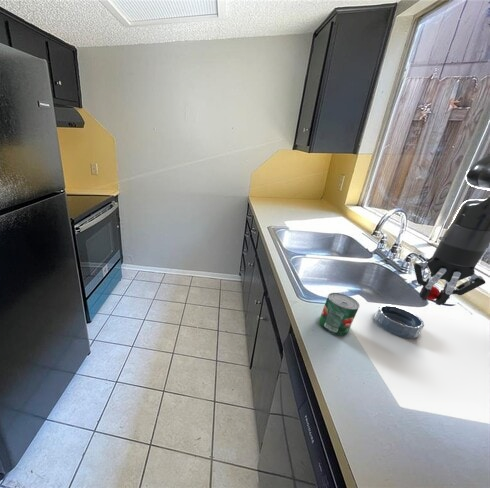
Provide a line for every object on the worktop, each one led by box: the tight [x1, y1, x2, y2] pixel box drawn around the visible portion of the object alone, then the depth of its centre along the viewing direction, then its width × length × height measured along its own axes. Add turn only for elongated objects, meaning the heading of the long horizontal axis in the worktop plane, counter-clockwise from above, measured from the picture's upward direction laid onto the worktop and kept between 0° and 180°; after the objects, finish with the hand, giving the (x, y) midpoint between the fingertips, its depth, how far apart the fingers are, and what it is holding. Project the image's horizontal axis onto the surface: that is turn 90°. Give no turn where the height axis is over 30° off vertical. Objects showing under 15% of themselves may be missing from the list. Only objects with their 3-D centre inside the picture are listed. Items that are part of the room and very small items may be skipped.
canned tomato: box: [318, 292, 360, 337], centre depth 77 cm, size 8×8×11 cm
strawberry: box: [427, 285, 441, 301], centre depth 71 cm, size 4×4×4 cm
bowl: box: [373, 304, 425, 339], centre depth 80 cm, size 11×11×5 cm
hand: (430, 301), depth 70 cm, fingers closed on strawberry, 2 cm apart
